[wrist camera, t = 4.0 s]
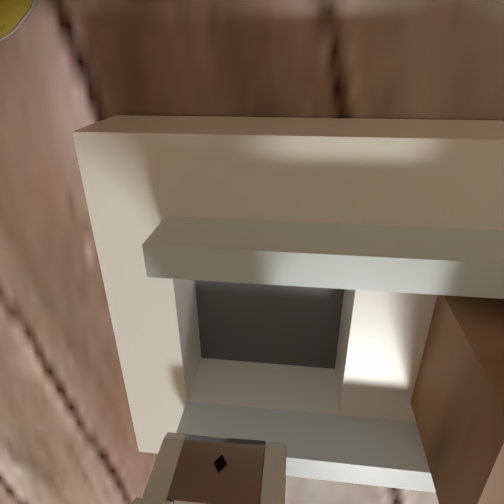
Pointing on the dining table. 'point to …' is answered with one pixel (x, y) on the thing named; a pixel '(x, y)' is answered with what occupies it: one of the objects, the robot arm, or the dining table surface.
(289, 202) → the channel
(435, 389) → the walnut block
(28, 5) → the canned food
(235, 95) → the dining table surface
